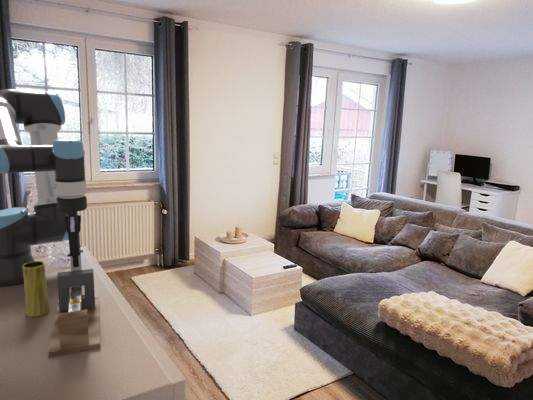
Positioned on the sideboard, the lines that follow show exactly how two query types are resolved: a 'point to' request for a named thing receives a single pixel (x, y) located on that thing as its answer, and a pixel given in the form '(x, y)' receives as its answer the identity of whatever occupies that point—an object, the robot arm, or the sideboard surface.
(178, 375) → the sideboard surface
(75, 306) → the light grey bar
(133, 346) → the sideboard surface
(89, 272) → the collar
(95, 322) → the wooden stand
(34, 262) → the vase
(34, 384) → the sideboard surface
